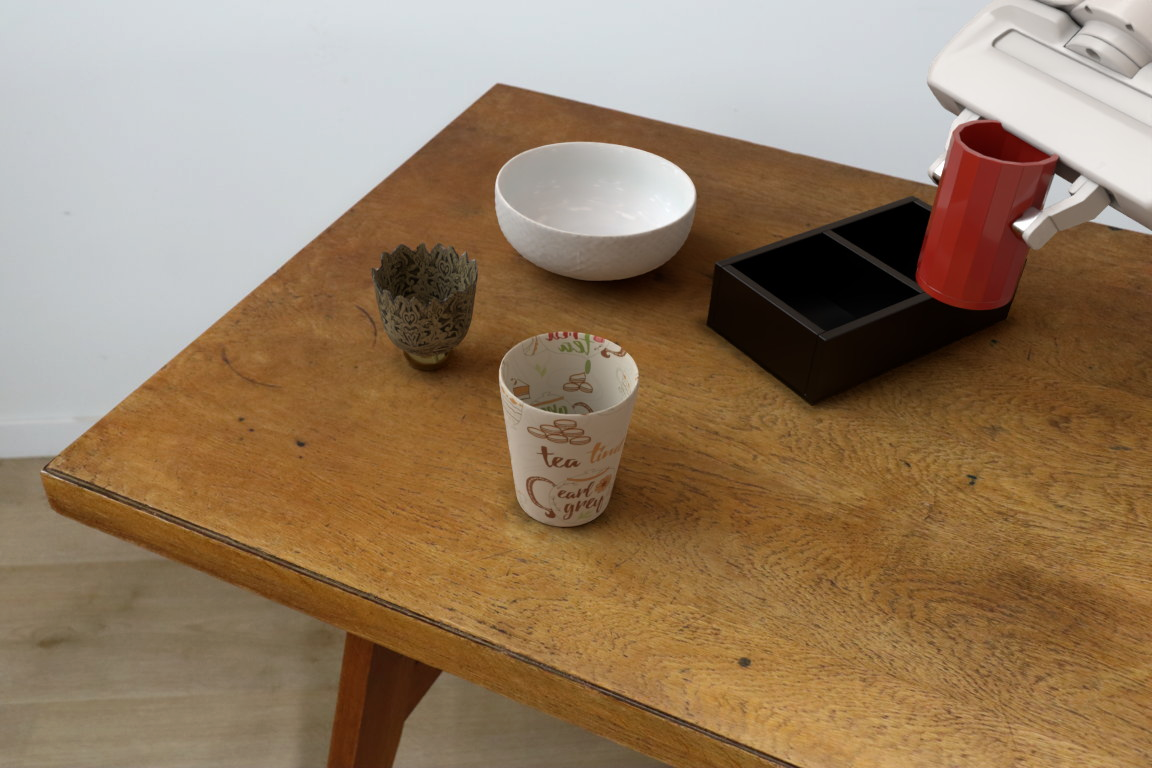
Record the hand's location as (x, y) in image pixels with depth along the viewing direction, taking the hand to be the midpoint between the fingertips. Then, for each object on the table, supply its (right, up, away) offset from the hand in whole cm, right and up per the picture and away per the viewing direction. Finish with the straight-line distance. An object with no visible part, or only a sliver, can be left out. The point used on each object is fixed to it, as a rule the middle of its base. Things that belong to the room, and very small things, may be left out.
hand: (977, 210), depth 69 cm
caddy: (-2, -6, +21) cm, 22 cm away
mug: (-25, -17, +5) cm, 31 cm away
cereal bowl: (-23, 0, +27) cm, 36 cm away
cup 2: (0, -4, +4) cm, 5 cm away
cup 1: (-36, -9, +14) cm, 40 cm away
